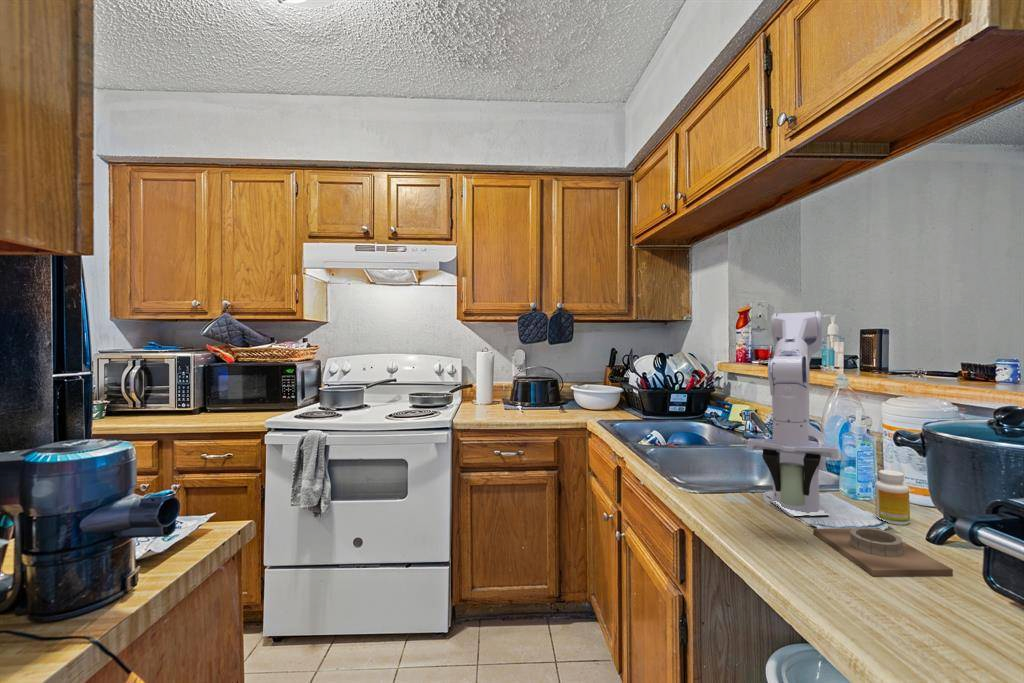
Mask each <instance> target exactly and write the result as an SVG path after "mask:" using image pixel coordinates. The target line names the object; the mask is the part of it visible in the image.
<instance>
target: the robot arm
mask: <svg viewBox="0 0 1024 683" xmlns="http://www.w3.org/2000/svg"><path fill="white" fill-rule="evenodd" d="M770 330H771V337H772V342H773V346H774V353H773V358H769V359H768V361H767V363H768V364H767V378H768V383H769V390H770V391H769V392H770V395H771V405H772V409H771V410H772V438H748V439H747V443H746V444H747V450H748V451H761V452H762V455H761V457H762V458H763V459H762V460H763V461H764V463H765V464H766V466H767V468H768V470H769V472H770V476H771V477H772V493H773V495H772V498H770V499H768V501H769V503H771V504H772V503H773V505H774V504H775V505H776V506H775V505H774V506H775V507H777V506H778V507H779V509H780V508H781V507H780V506H779V505H778V504H776V502H773V501H777V502H779V503H780V504H781V506H782V507H784V508H787V509H790V510H795V511H801V512H806V513H810V512H818V511H819V510H820V508H821V507H820V482H819V480H820V479H819V472H820V471H824V469H826V458H830V459H833V460H838V459H839V446H837V445H829V444H825V436H824V434H823V433H822V432H821V431H820V430H819V429H817V428H816V427H814V426H813V425H811V423H810V378H811V377H810V375H811V374H810V362H811V359H812V356H813V355H814V354H816V353H818V352H820V351H821V348H822V345H823V315H822V312H821V311H819V310H815V311H807V312H804V311H803V312H785V313H783V312H781V313H777V312H776V313H775V312H774V313H773V314H772V315H771V319H770ZM782 462H792V463H798V464H802V465H804V495H805V505H803V506H792V505H787V504H784V503H782V502H781V501H780V471H779V463H782ZM778 507H777V508H778ZM781 509H782V508H781ZM781 509H780V510H781ZM782 510H783V512H784V513H785V514H786V515H788V516H789V517H794V515H793V514H790V513H789V512H787V511H786V510H784V509H782ZM782 510H781V511H782Z"/></svg>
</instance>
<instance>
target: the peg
mask: <svg viewBox="0 0 1024 683" xmlns="http://www.w3.org/2000/svg"><path fill="white" fill-rule="evenodd" d="M779 471H780V501H781V502H782V503H784V504H787V505H792V506H803V505H805V495H804V465H802V464H798V463H792V462H782V463H779Z"/></svg>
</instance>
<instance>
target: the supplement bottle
mask: <svg viewBox="0 0 1024 683" xmlns="http://www.w3.org/2000/svg"><path fill="white" fill-rule="evenodd" d="M878 478H879V479H880V480H877V481H876V482H875V483H874V494H875V495H874V497H875V516H877V517H879V518H881V519H883V520H885V521H887V522H888V523H887V522H886V523H887V524H892V525H897V526H899V525H900V526H902V525H903V526H905V525H909V524H910V522H911V515H910V514H911V513H910V511H911V510H910V507H911V506H910V488H909V486H908V485H907V484H906V483H904V482H905V474H904V472H901V471H897V470H893V469H892V470H891V469H881V470H878ZM877 517H876V518H877Z"/></svg>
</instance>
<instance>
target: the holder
mask: <svg viewBox="0 0 1024 683" xmlns="http://www.w3.org/2000/svg"><path fill="white" fill-rule="evenodd" d="M812 534H813V535H815V537H818V538H819V539H820V540H821V541H823V542H824V543H826V544H827V545H828V546H830V547H831V548H832V549H834V550H835V551H837V552H838V553H839V554H841V555H843V557H845V558H847V559H848V560H850V561H851V562H853V564H856V566H858V567H859V568H860V569H862V570H863V571H865V572H866V573H868V574H869V575H870V576H872V577H878V578H879V577H953V576H954V572H953V571H954V569H953V568H951V567H949V566H947V565H946V564H944V563H942V562H940V561H939V560H937V559H935V558H933V557H931V556H930V555H928V554H926V553H924V552H922V551H921V550H919V549H918V548H916V547H914V546H912V545H910V544H908V543H907V542H904V541H903V540H902V537H901V536H899V535H897V534H895V533H893V532H891V531H888V530H884V529H881V528H880V527H867V526H861V527H860V526H858V527H847V528H845V527H840V528H833V527H832V528H830V527H829V528H827V527H826V528H813V533H812Z"/></svg>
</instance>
